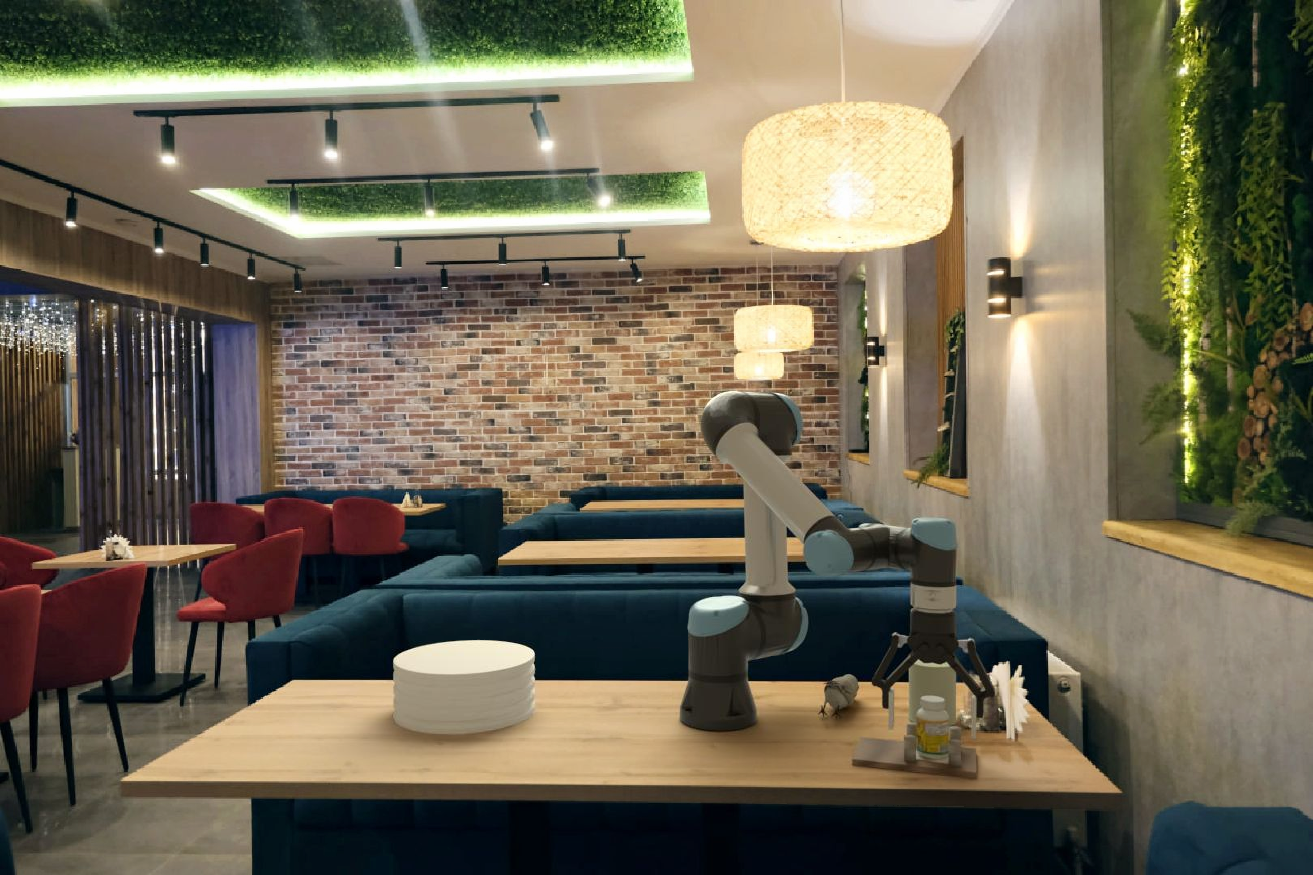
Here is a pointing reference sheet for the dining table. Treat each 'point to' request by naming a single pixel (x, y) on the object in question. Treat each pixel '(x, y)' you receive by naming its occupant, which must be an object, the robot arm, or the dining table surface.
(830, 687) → the decorative bird
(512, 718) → the plate stack
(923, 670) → the can
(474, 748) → the dining table surface
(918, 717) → the supplement bottle
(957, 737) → the pin nest
